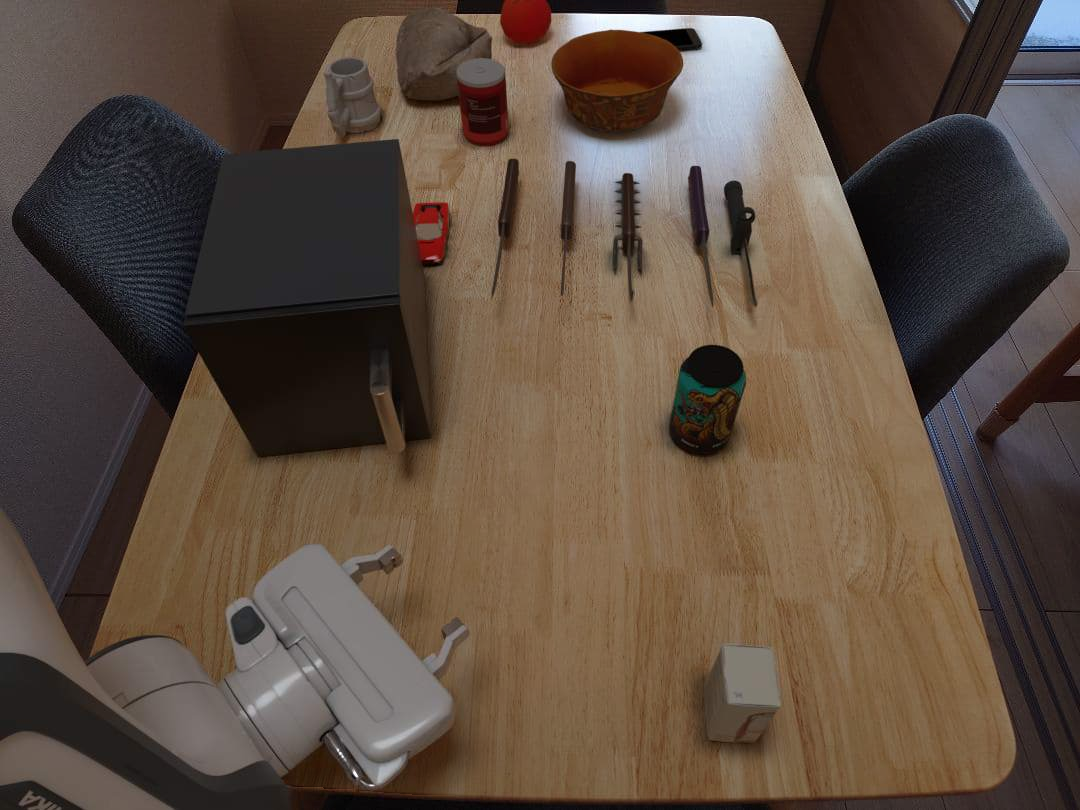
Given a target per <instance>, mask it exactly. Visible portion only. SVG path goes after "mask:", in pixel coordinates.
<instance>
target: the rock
mask: <svg viewBox="0 0 1080 810" xmlns="http://www.w3.org/2000/svg"><path fill="white" fill-rule="evenodd" d="M492 42H493V36H492V35H491V34H490V33H489V31H488V28H485V27H483V26H482V27H479V26H475V25H471V24H470V23H468V22H467V21H465V20H464V19H462V18H461V17H459V16H457V15H454V14H452V13H449V12H446V11H445V9H442V8H440V7H438V6H427V7H424V8H422V7H421V8H417V9H414V10H413V11H411V12H410V13H409V14H407V15H406V16H405V17H404V19H403V20H402V22H401V23H400V25H399V28H398V31H397V34H396V45H395V59H396V65H397V68H396V70H397V72H396V73H397V82H398V84H399V88H400V90H401V93H402V94H403V95H405V96H407V97H408V98H409V99H412V100H418V101H428V102H429V101H430V102H433V101H445V100H449V99H452V98H455V97H457V96H459V94H458V85H457V75H456V74H457V72H456V71H457V68H458V66H460V65H461V64H462V63H463V62H466V61H468V60H471V59H476V58H487V59H492V57H493V54H492V53H493V52H492V46H493V45H492ZM492 60H493V59H492Z"/></svg>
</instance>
